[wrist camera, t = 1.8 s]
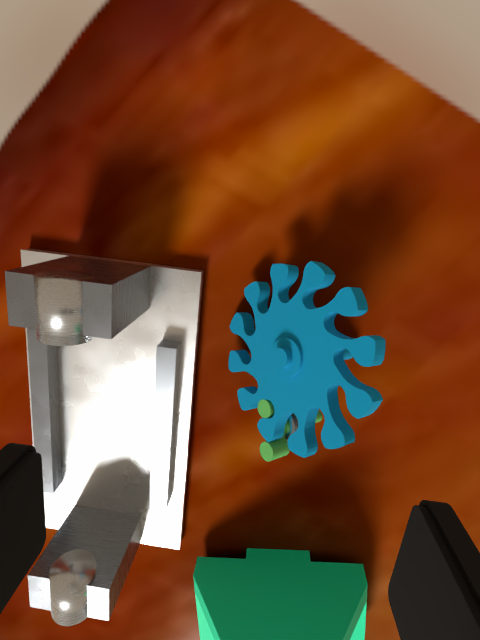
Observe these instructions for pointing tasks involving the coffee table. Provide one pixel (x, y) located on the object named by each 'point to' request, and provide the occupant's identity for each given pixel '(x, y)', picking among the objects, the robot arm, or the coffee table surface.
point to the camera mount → (279, 597)
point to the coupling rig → (106, 415)
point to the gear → (303, 361)
